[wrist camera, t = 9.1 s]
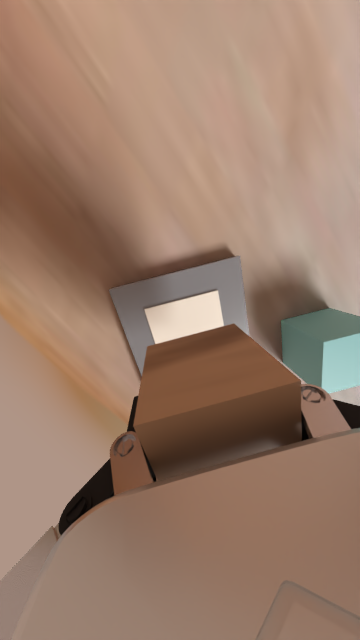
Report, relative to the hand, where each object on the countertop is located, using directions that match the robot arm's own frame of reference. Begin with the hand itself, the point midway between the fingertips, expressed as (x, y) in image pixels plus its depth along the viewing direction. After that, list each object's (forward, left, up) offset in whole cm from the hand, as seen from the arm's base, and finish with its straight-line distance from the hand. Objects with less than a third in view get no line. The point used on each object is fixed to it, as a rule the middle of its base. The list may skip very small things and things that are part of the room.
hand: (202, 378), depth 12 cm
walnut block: (0, 0, -1) cm, 1 cm away
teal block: (+5, +14, -9) cm, 17 cm away
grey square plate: (0, 0, -9) cm, 9 cm away
